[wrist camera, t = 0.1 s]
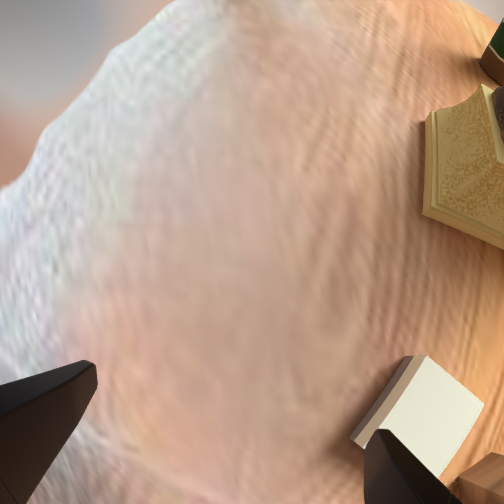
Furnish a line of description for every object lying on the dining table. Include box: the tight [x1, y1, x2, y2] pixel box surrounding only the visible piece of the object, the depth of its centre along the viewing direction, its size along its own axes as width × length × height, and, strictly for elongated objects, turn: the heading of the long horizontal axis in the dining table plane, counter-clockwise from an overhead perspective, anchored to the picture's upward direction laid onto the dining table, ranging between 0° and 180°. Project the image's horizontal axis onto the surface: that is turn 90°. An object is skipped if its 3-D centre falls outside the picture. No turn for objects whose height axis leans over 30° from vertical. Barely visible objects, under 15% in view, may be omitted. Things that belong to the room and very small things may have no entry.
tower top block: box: [354, 355, 485, 478], centre depth 19 cm, size 8×8×2 cm
